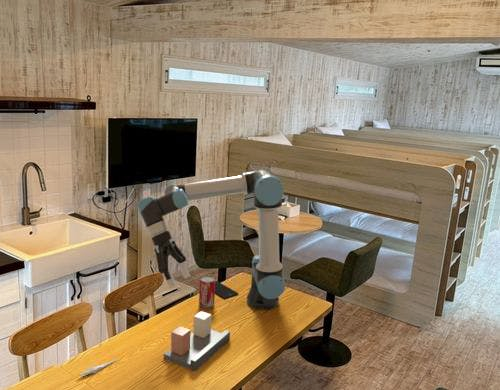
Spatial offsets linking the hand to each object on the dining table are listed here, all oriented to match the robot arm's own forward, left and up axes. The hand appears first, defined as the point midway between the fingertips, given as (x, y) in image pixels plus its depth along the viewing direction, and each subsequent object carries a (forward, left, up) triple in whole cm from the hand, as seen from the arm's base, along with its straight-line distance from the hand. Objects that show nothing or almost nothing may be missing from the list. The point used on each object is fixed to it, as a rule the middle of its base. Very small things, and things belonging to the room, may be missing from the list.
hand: (180, 281), depth 184 cm
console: (0, +17, -21) cm, 27 cm away
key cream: (-5, +11, -19) cm, 22 cm away
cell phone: (-32, -25, -22) cm, 46 cm away
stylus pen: (+36, +12, -22) cm, 43 cm away
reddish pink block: (+7, +18, -19) cm, 27 cm away
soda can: (-19, -14, -21) cm, 32 cm away
